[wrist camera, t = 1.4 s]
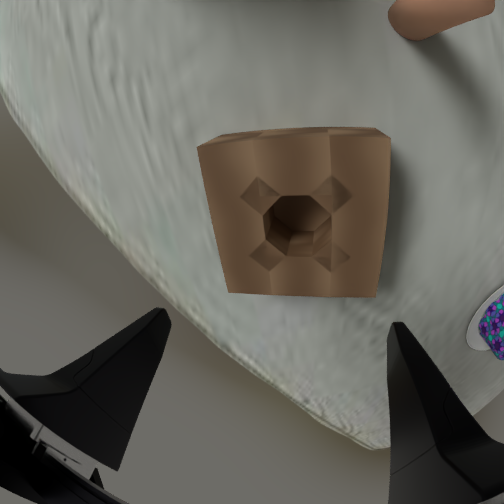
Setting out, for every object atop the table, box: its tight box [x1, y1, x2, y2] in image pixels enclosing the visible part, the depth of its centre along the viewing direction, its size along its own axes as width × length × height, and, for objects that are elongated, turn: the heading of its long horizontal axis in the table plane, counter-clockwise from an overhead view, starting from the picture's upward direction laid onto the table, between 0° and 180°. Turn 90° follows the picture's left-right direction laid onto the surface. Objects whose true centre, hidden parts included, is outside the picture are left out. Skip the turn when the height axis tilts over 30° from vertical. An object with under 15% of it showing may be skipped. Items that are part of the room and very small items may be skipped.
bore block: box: [197, 127, 391, 297], centre depth 18 cm, size 11×11×4 cm
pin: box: [388, 0, 495, 41], centre depth 7 cm, size 3×3×9 cm
